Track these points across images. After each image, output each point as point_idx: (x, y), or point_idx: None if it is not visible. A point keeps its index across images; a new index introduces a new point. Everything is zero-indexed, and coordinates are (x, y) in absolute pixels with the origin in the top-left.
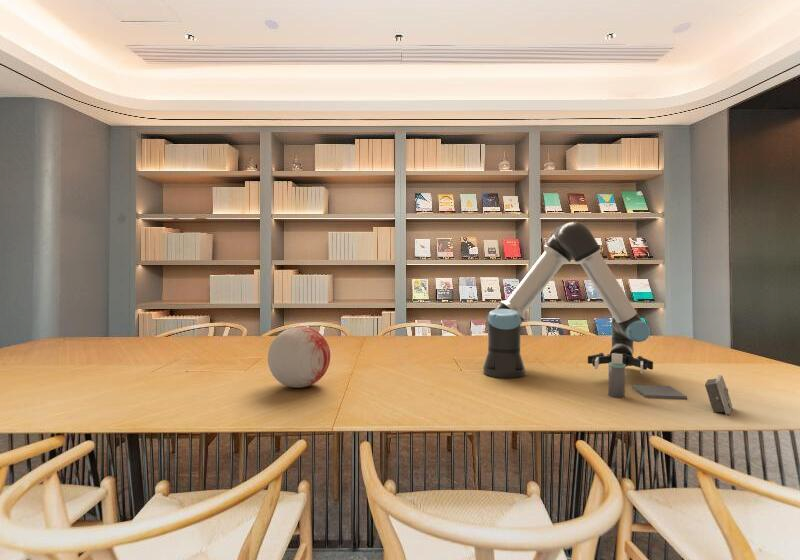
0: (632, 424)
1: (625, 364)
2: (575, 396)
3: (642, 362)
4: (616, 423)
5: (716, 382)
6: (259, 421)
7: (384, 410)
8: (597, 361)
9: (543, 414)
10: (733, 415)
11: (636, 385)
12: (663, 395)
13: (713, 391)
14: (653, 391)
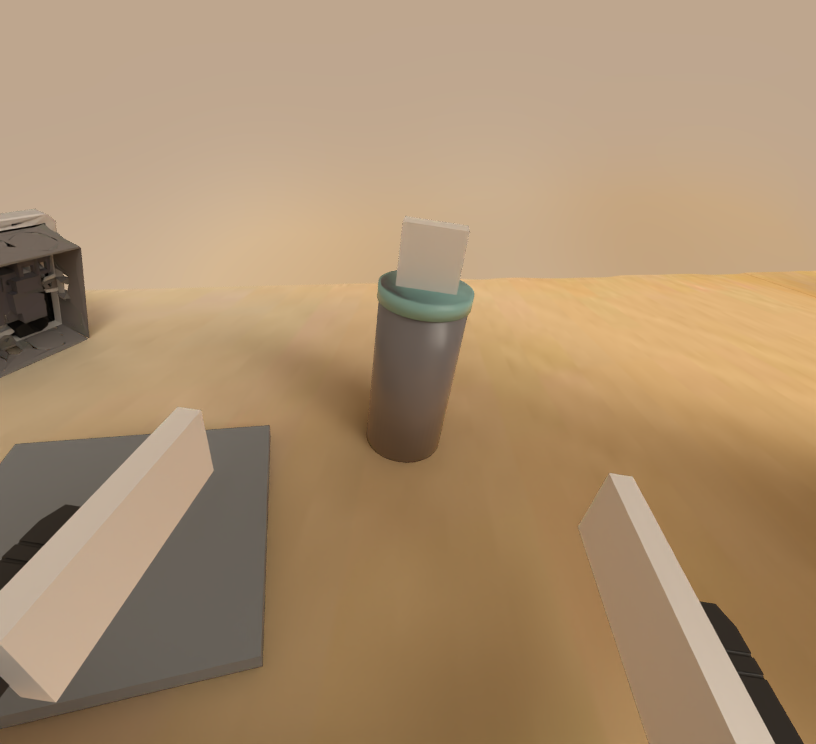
0: None
1: (379, 278)
2: (552, 400)
3: (68, 530)
4: None
5: (51, 217)
6: (811, 276)
7: (774, 299)
8: (617, 510)
9: (555, 302)
10: None
11: (215, 646)
12: None
13: (63, 263)
14: None
